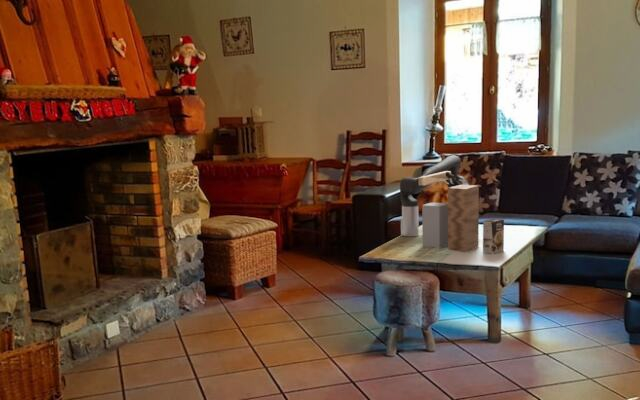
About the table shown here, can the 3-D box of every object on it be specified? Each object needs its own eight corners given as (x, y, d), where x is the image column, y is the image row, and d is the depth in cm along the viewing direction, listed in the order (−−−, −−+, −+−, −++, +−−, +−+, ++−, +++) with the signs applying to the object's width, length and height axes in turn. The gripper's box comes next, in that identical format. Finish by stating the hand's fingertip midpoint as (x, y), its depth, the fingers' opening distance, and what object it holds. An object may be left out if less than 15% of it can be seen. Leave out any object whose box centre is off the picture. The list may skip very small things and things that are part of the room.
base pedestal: (422, 246, 324) (422, 205, 321) (432, 242, 332) (431, 202, 329) (439, 248, 318) (439, 206, 315) (448, 244, 326) (448, 203, 322)
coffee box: (493, 254, 302) (493, 222, 300) (482, 252, 307) (482, 220, 305) (504, 251, 308) (504, 219, 305) (493, 249, 313) (493, 217, 310)
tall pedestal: (448, 249, 315) (447, 187, 310) (460, 244, 325) (460, 184, 320) (465, 252, 308) (465, 189, 304) (478, 246, 319) (478, 185, 314)
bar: (418, 185, 310) (418, 177, 310) (445, 178, 331) (445, 171, 331) (424, 185, 308) (424, 177, 308) (451, 178, 329) (451, 171, 329)
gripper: (446, 178, 344) (433, 166, 331) (470, 180, 335) (456, 167, 322) (443, 191, 342) (429, 179, 329) (466, 192, 333) (453, 180, 320)
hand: (443, 173), depth 326 cm, fingers closed on bar, 3 cm apart
